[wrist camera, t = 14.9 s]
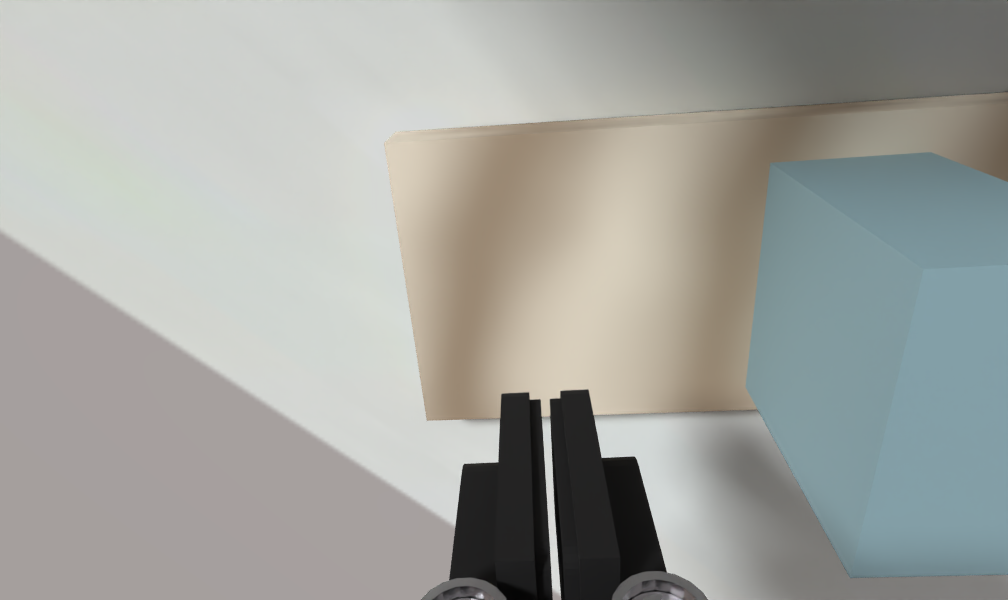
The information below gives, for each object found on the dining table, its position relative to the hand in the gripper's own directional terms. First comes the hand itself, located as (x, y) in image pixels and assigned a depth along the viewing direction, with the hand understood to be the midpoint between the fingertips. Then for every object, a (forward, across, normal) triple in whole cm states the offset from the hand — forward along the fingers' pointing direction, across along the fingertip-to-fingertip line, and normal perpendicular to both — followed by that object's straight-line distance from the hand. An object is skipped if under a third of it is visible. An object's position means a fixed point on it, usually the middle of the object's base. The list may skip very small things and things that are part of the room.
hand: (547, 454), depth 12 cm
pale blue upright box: (+7, -8, 0) cm, 11 cm away
